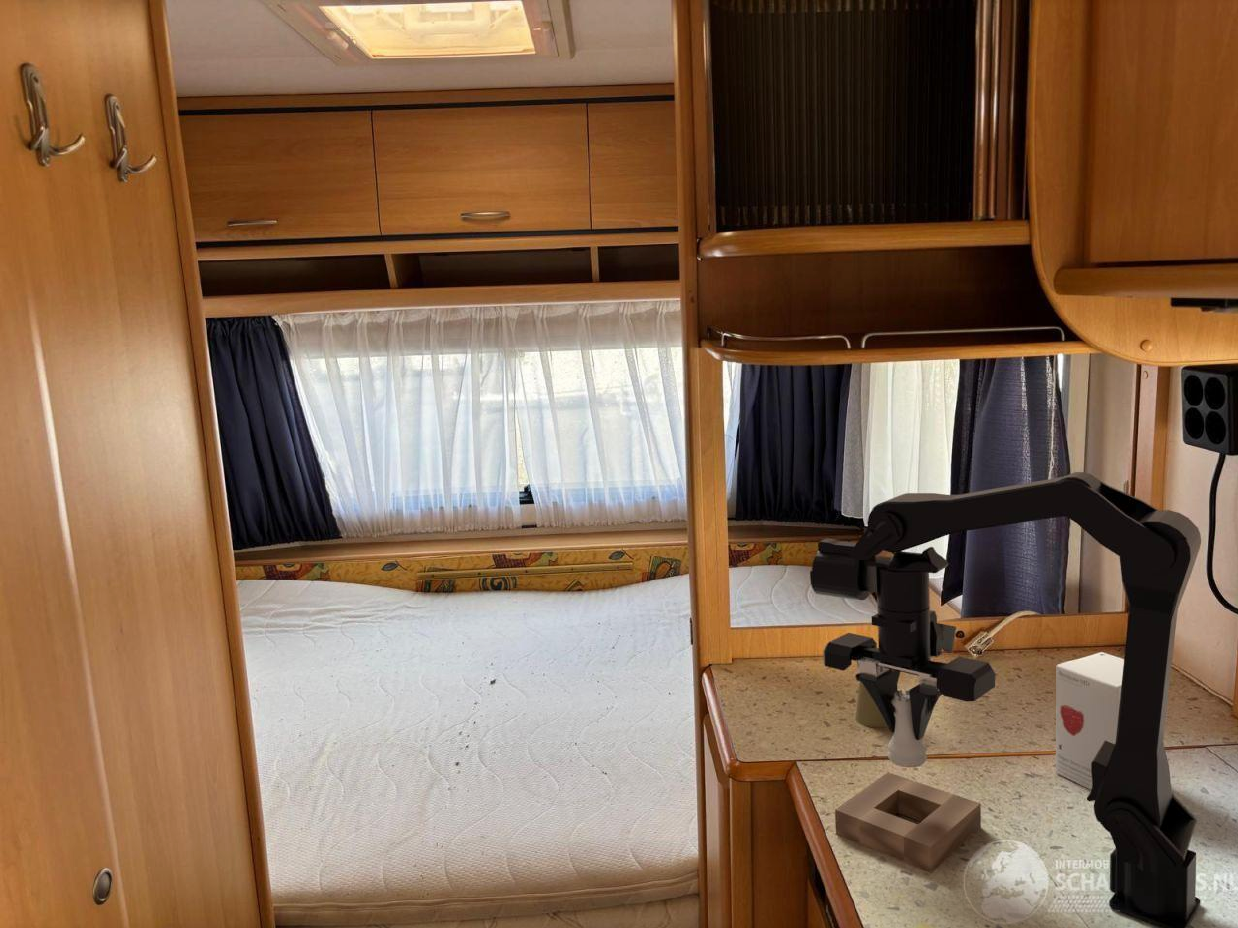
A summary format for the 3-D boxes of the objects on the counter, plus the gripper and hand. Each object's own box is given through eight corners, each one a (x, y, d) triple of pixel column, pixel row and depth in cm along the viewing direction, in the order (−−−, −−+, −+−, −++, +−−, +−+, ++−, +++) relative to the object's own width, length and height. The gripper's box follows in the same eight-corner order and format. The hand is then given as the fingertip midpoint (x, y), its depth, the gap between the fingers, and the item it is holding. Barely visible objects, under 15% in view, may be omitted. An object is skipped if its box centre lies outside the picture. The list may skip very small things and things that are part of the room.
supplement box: (1052, 773, 115) (1052, 663, 113) (1100, 756, 119) (1101, 649, 117) (1116, 804, 107) (1117, 685, 105) (1165, 785, 110) (1167, 670, 108)
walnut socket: (980, 827, 104) (980, 803, 103) (931, 872, 95) (930, 846, 95) (888, 794, 112) (887, 771, 112) (835, 833, 104) (834, 809, 104)
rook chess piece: (896, 747, 106) (894, 684, 105) (933, 756, 103) (932, 691, 102) (881, 762, 103) (879, 696, 102) (918, 772, 100) (917, 704, 99)
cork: (865, 729, 131) (863, 658, 130) (848, 713, 137) (846, 645, 136) (903, 724, 132) (902, 653, 131) (885, 708, 138) (883, 641, 137)
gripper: (1015, 601, 99) (1017, 733, 101) (868, 578, 113) (872, 694, 115) (970, 626, 92) (972, 768, 94) (818, 598, 105) (823, 723, 107)
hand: (906, 735), depth 102 cm, fingers closed on rook chess piece, 3 cm apart
